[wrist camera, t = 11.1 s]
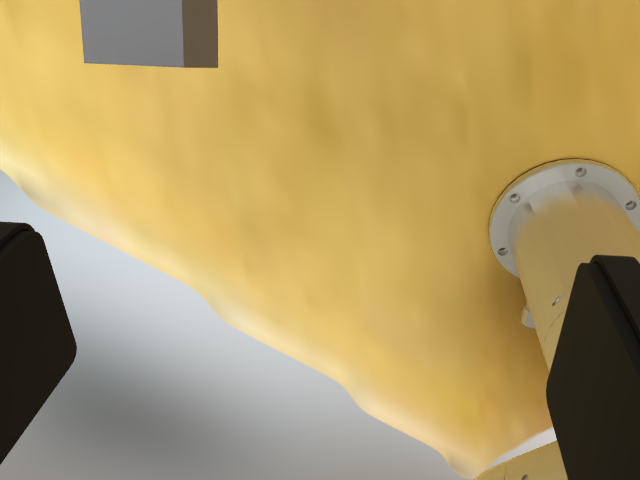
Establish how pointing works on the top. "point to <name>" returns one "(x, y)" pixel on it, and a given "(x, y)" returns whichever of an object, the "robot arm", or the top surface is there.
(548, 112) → the top surface
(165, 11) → the carton lid
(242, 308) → the top surface
